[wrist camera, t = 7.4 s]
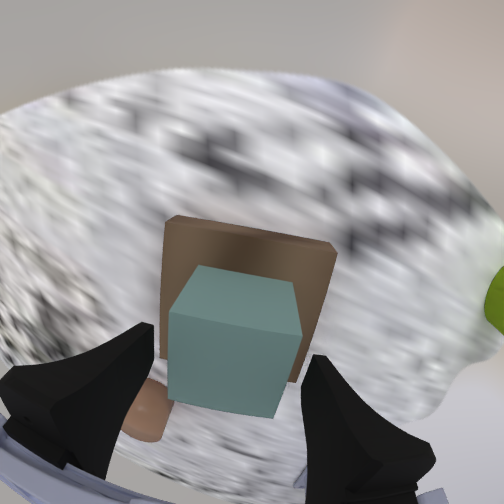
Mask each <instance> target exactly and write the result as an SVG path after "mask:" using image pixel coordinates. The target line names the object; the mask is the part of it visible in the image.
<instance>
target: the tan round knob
mask: <svg viewBox="0 0 504 504" xmlns="http://www.w3.org/2000/svg"><path fill="white" fill-rule="evenodd" d="M173 404H174V400H170V399H168V388H167V387H166V386H164V385H163V384H161V383H160V382H158V381H156V380H153V379H150V378H147V379H146V380H145V382H144V384H143V386H142V388H141V389H140V391H139V393H138V395H137V396H136V398H135V400H134V402H133V404H132V405H131V407H130V409H129V411H128V413H127V415H126V417H125V419H124V422H123V424H122V427H121V430H122V431H123V432H124V433H126V434H127V435H129V436H131V437H133V438H135V439H137V440H140V441H144V442H157V441H159V440H160V439H161V438H162V435H163V432H164V429H165V426H166V424H167V421H168V418H169V415H170V412H171V410H172V407H173Z"/></svg>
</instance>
